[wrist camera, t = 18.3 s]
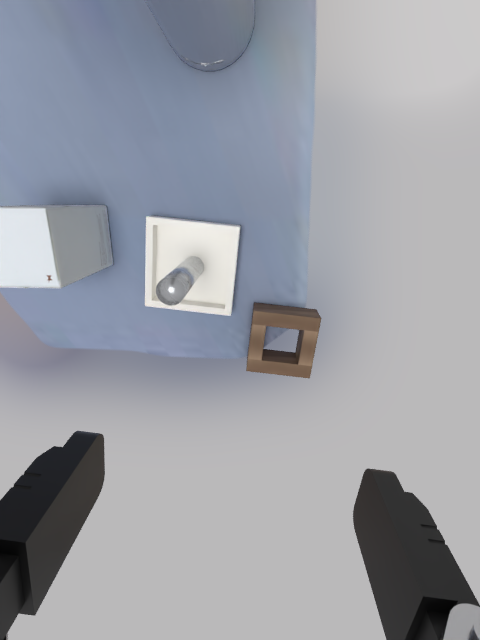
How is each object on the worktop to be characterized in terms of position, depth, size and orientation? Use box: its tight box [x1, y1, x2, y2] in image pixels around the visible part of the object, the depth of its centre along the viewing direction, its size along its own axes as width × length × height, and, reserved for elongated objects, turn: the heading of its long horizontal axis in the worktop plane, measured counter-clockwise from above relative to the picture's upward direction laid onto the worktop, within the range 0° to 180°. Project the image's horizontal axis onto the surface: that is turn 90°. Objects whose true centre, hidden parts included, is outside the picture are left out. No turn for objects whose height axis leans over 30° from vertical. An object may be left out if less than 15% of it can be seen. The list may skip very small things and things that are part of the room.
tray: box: [145, 215, 241, 316], centre depth 42 cm, size 11×11×2 cm
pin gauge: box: [156, 256, 204, 306], centre depth 37 cm, size 3×3×12 cm
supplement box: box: [0, 205, 113, 288], centre depth 37 cm, size 7×7×13 cm
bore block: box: [247, 303, 321, 378], centre depth 44 cm, size 8×8×4 cm
